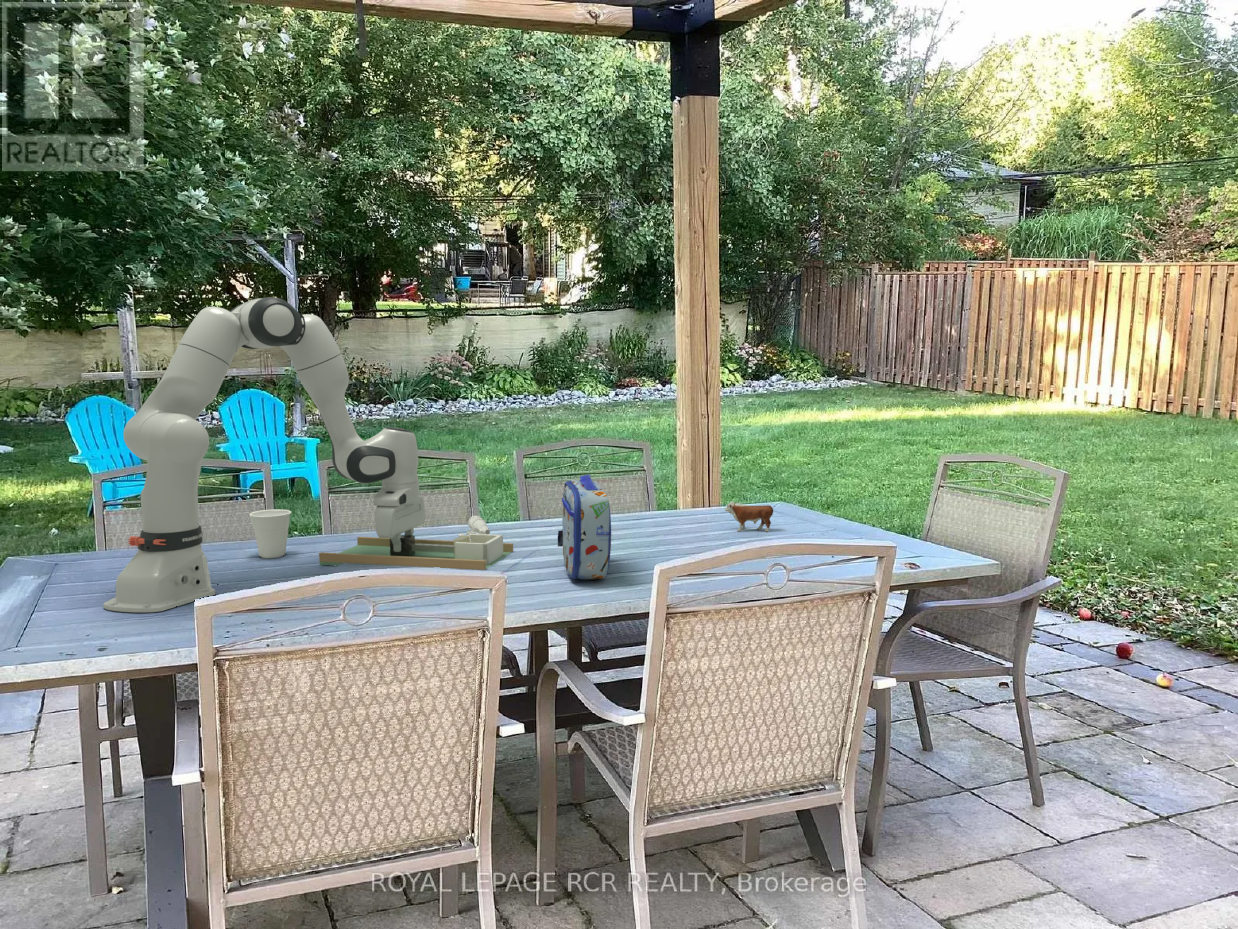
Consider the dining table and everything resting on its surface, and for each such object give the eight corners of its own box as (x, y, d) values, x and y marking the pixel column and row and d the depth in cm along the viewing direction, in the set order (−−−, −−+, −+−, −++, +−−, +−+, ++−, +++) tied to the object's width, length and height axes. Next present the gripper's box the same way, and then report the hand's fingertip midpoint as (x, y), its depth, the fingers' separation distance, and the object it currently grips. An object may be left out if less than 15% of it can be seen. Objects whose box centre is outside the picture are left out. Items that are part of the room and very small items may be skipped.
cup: (280, 561, 246) (277, 517, 244) (243, 559, 248) (241, 515, 246) (300, 552, 255) (298, 509, 254) (265, 551, 257) (263, 508, 256)
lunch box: (556, 559, 246) (555, 470, 243) (598, 558, 247) (597, 469, 244) (569, 587, 219) (567, 487, 216) (616, 585, 220) (615, 486, 217)
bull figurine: (724, 528, 283) (724, 500, 282) (772, 529, 281) (773, 500, 280) (724, 531, 278) (724, 502, 277) (773, 532, 277) (773, 503, 275)
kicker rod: (461, 559, 240) (461, 540, 240) (388, 556, 245) (388, 536, 244) (469, 555, 245) (469, 535, 244) (398, 551, 249) (397, 532, 249)
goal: (487, 565, 236) (486, 544, 235) (455, 563, 237) (454, 542, 237) (503, 555, 246) (502, 535, 246) (472, 553, 248) (472, 533, 247)
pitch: (484, 574, 231) (484, 561, 231) (319, 565, 241) (318, 553, 240) (513, 555, 251) (513, 543, 250) (359, 548, 260) (359, 536, 260)
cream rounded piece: (480, 556, 258) (465, 543, 256) (468, 546, 271) (454, 533, 269) (500, 533, 259) (485, 519, 257) (488, 523, 272) (473, 511, 270)
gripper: (407, 486, 255) (409, 540, 257) (369, 499, 235) (371, 557, 237) (430, 487, 254) (432, 541, 256) (394, 500, 234) (396, 558, 236)
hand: (402, 549), depth 246 cm, fingers closed on kicker rod, 3 cm apart
